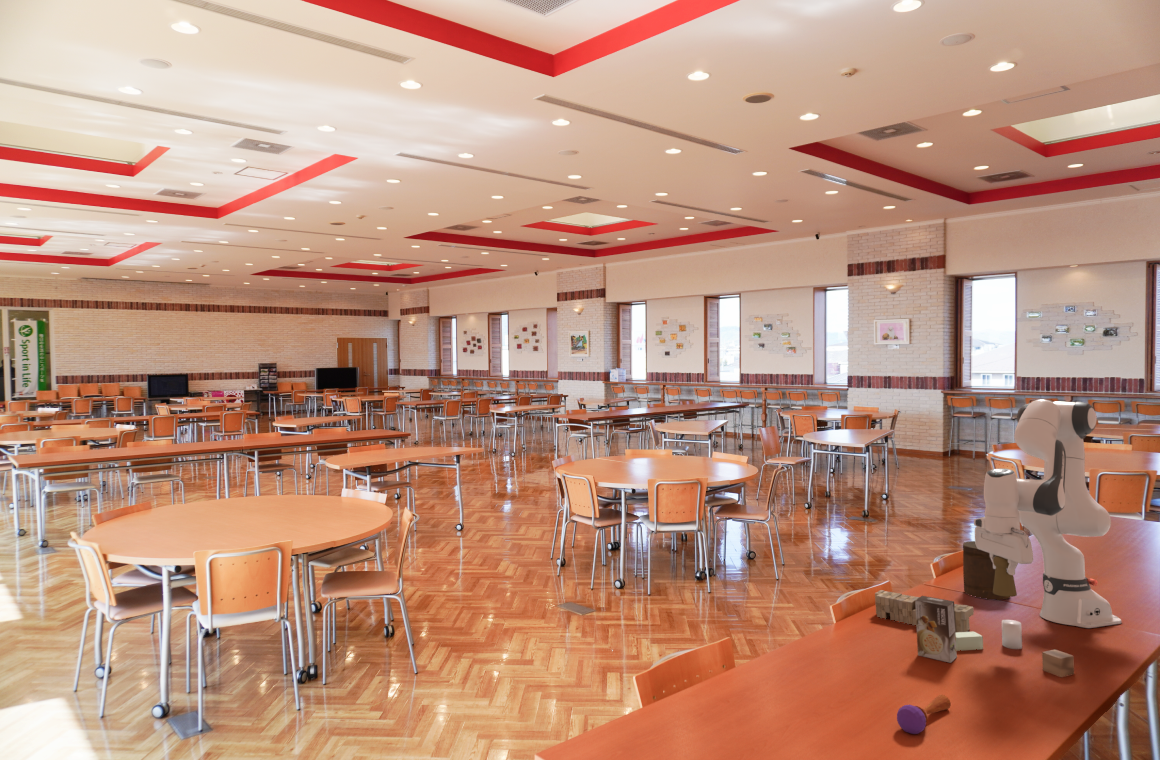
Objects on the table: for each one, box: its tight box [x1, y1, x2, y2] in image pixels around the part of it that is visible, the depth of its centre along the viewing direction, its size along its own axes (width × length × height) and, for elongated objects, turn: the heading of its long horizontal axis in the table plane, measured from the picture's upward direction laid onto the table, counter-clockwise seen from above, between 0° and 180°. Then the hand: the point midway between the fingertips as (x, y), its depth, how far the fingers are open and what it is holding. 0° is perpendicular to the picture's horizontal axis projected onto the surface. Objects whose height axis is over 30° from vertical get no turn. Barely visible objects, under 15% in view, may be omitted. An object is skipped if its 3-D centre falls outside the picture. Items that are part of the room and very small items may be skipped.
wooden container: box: [962, 540, 1011, 601], centre depth 255 cm, size 15×15×22 cm
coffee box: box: [915, 595, 958, 664], centre depth 199 cm, size 9×6×16 cm
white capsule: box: [1001, 619, 1023, 650], centre depth 205 cm, size 5×5×7 cm
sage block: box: [956, 631, 984, 652], centre depth 205 cm, size 8×4×4 cm, turn 95°
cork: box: [993, 556, 1018, 598], centre depth 202 cm, size 6×6×11 cm
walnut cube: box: [1041, 649, 1075, 678], centre depth 186 cm, size 5×5×5 cm
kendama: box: [896, 694, 952, 735], centre depth 161 cm, size 6×6×20 cm
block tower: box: [874, 589, 975, 632], centre depth 226 cm, size 8×8×29 cm
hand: (1003, 571), depth 202 cm, fingers closed on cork, 4 cm apart
